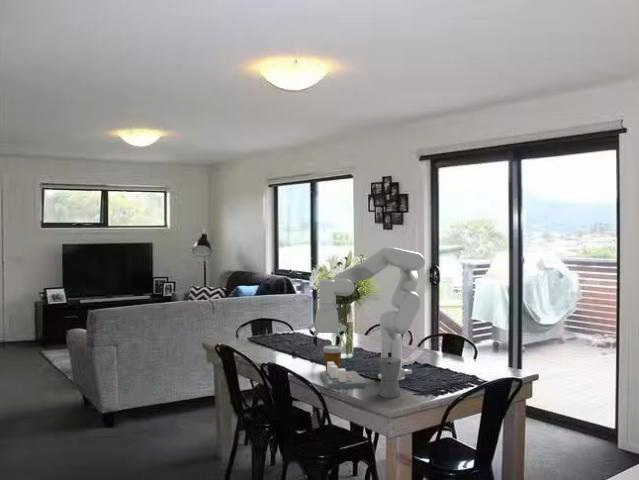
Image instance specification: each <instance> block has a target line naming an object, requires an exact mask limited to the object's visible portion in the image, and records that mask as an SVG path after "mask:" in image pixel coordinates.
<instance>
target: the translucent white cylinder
mask: <svg viewBox="0 0 639 480" xmlns="http://www.w3.org/2000/svg"><path fill="white" fill-rule="evenodd" d="M423 353H424V350H419V349H415V350H414V351H412V353H410V354H409V355H408V356H407V357H406V358H405V357H404V358H402V367H405V366H404V365H407V366H410V365H409V364H411V365H414V364H415V361H417V359H418V358H420V356H422V354H423ZM413 363H414V364H413Z"/></svg>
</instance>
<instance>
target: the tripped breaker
mask: <svg viewBox="0 0 639 480" xmlns="http://www.w3.org/2000/svg"><path fill="white" fill-rule="evenodd" d="M346 371H347V370H346V368H340V367H339V369H338V381H339V382H346Z"/></svg>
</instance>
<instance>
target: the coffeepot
mask: <svg viewBox="0 0 639 480" xmlns="http://www.w3.org/2000/svg"><path fill="white" fill-rule="evenodd" d="M391 354H392V353H390V352H389V353H388V357H383V358H381V357H380V358H378V365H379V372H380V373H379V374H381V375H382V379H380V385H379V388H378V395H379V397H382V398H387V399H388V398H389V399H390V398H391V399H394V398H398V397H400V396H401V395H402V393H401V388H400V384H399V383H400V382H399V381H398V375H399V370H400V363H401V360H400V359H399V358H395V357H392V355H391Z"/></svg>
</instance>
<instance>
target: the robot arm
mask: <svg viewBox="0 0 639 480" xmlns="http://www.w3.org/2000/svg"><path fill="white" fill-rule="evenodd" d="M425 264H426V259H425V257H424V255H422V254H421V253H420V252H415V251H410V250H405V249H403V248H397V247H390V246H389V247H382V248H381V249H379V250H378V251H376V252H375V253H374V254H372V255H370V256H369V257H367V258H366V259H364V260H363V261H362V262H360V263H358V264H355V265H354V266H352V267H349V268H347V269H345V270H343V272H340V273H339V274H338V275H336V276H334V278H332V279H331V278H322V279H321V280H319V283H318V284H319V287H318V290H319V291H318V309H316V313H315V322H314V323H312V324H310V325H308V326H307V329H308V332H309V334H310V335H312V338H313V340H312V344H314V346H315V347H317V346H318V337H317V336H318V334H335V335H336V336H335V345H336V346H339V345H340V344H341V338H342V337H341V336H342V335H344V333H345V331H346V330H347V326H346V325H343V324H342V323H340V322H339V314H338V310H337V309H339V308H340V304H337V296H341V297H349V296H351V295H352V294H353V293H354V292H355V283H358V282H361V281H367V280H369V279H370V280H371V279H372V278H374V277H376V276H377V275H379V274H380V273H381V272H383V271H384V270H385V269H387V268H389V267H395V268H398V269H399V272H400V277H399V281H398V283H397V286H396V288H395V290H394V292H393V294H392V297H391V300H390V301H391V302H390V303H391V306H392V307H394V309H397V311H396V310H392V309H389V310H385V311H383V313H382V314H381V315H380V317H379V328H380V335H381V336H380V337H381V338H380V339H381V340H380V341H381V347H380V348H381V350H380V353H381V354H380V356H381V357H380V358H383V357H388V353H389V352H390V353H392V354H391V355H392V357H395V358H399V359H400V360H401V363H400V370H399V375H398V381H404V380H405V379H406V375H412V374H413V370H412V369H407V368H406V369H404V368H403V366H402V359H403V339H402V338H403V337H402V335H404V334H406V333H408V332H409V331H410V330H411V328H412V326H413V325H414V322H415V320H416V317H417V316H418V312H419V310H420V307H421V298H420V295H419V294H418V293H417V292H416V289H417V286H418V284H419V275H418V272H419V271H421V270H422V269H423V268H424V267H425ZM313 328H315V329H314V330H315V331H313V330H312V329H313ZM339 328H341V330H340V331H339ZM377 378H378V379H379V380H381V379H382V375H381V373H379V374H377Z"/></svg>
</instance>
